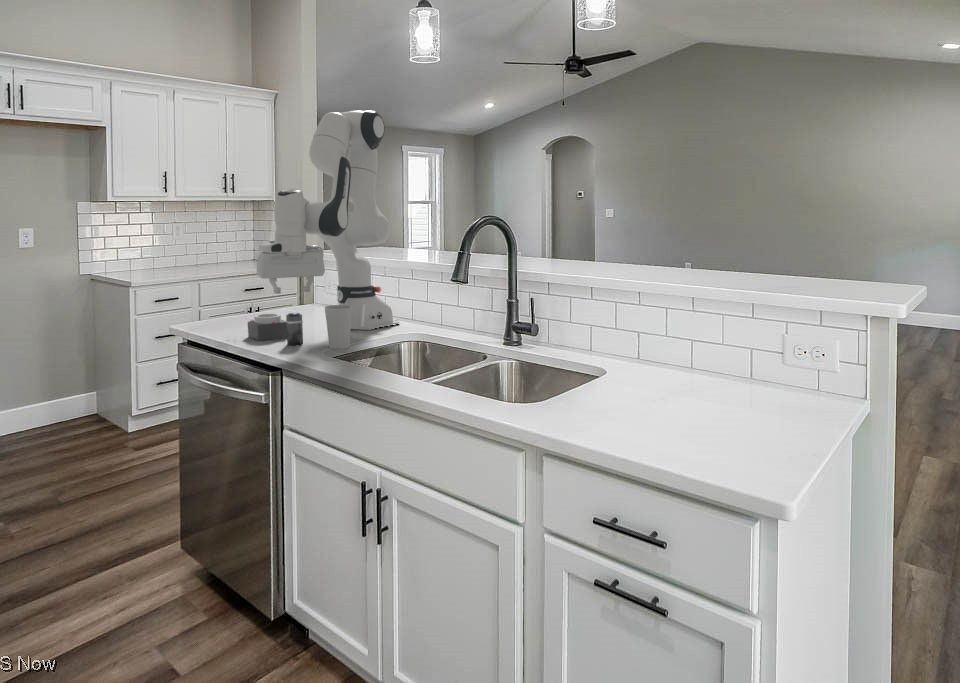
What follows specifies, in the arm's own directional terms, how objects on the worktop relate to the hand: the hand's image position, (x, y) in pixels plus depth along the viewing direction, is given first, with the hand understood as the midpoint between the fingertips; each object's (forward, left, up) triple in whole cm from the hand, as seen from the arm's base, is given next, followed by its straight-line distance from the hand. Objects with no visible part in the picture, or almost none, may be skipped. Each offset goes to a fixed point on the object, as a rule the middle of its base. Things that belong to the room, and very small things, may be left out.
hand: (292, 292), depth 207 cm
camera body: (+2, -15, -16) cm, 22 cm away
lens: (0, 0, -16) cm, 16 cm away
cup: (-9, +11, -16) cm, 22 cm away
